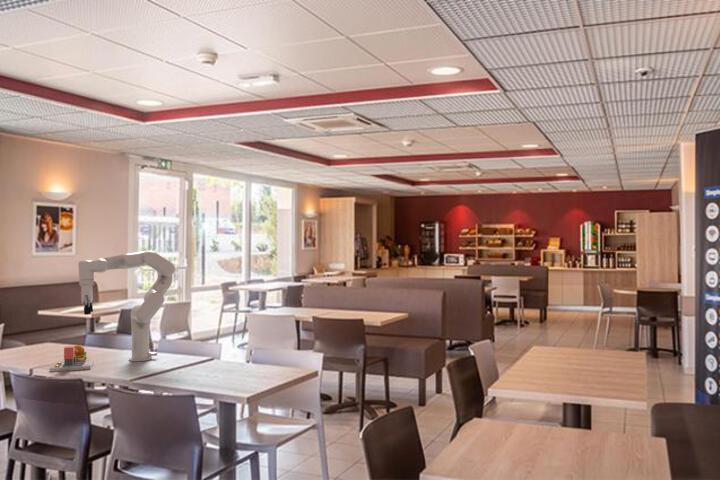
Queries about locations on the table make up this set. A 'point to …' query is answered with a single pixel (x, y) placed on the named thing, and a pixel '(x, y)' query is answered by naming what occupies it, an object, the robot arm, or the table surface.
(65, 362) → the breaker
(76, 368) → the panel
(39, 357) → the table surface
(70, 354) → the red rectangular block
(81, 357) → the cheeseburger
